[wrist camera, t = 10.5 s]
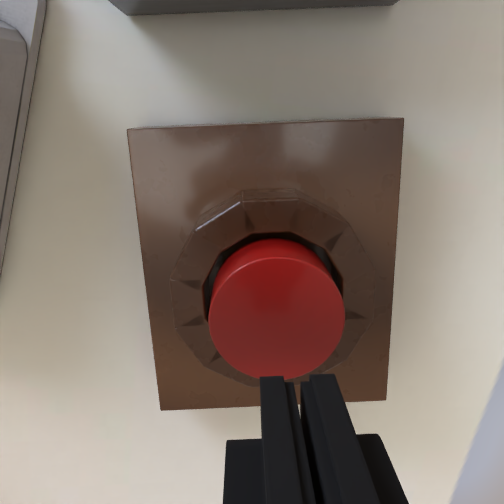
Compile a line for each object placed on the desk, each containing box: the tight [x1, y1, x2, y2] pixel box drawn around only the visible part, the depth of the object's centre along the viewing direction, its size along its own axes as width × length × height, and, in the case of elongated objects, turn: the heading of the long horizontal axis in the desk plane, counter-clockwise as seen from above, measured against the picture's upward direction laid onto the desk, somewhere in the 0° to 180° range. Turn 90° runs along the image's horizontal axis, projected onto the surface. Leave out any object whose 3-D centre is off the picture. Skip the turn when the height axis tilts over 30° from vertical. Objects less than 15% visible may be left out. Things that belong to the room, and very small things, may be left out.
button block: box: [127, 117, 404, 411], centre depth 18 cm, size 12×10×4 cm
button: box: [208, 238, 345, 380], centre depth 15 cm, size 4×4×2 cm
